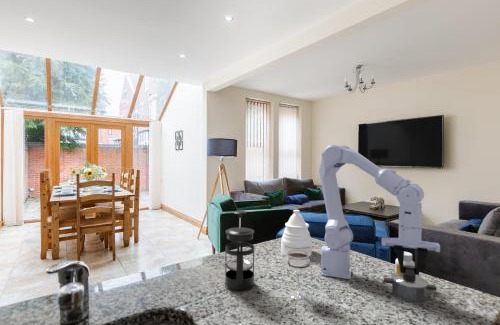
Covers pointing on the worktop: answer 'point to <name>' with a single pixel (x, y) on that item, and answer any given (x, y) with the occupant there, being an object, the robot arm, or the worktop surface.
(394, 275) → the lid
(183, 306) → the worktop surface
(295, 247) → the honey pot
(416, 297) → the pot
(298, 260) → the wineglass
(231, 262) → the french press
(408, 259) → the supplement bottle
